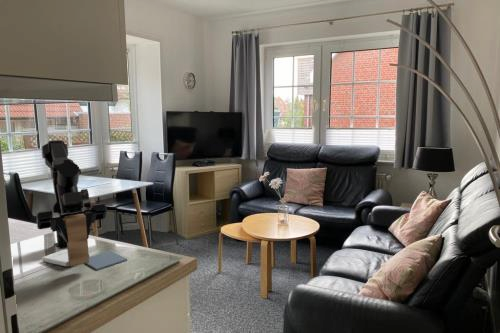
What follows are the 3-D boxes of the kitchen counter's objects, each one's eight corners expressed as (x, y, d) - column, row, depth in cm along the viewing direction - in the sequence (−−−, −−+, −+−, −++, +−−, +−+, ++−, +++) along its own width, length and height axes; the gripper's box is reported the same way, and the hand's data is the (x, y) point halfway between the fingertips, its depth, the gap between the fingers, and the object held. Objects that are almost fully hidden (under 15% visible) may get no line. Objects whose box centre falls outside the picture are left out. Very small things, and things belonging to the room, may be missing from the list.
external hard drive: (66, 267, 111) (42, 261, 117) (89, 258, 118) (66, 253, 124) (65, 262, 110) (41, 256, 117) (89, 253, 117) (65, 248, 124)
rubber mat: (80, 261, 117) (80, 259, 117) (110, 252, 124) (110, 250, 124) (96, 270, 110) (96, 268, 109) (127, 260, 117) (127, 258, 117)
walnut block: (68, 262, 108) (64, 216, 106) (86, 258, 111) (83, 213, 109) (70, 266, 105) (66, 219, 103) (89, 262, 108) (85, 216, 106)
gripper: (33, 184, 102) (40, 232, 95) (103, 177, 113) (114, 220, 105) (34, 206, 110) (40, 252, 103) (99, 197, 120) (109, 239, 113)
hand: (77, 240), depth 106 cm, fingers closed on walnut block, 5 cm apart
